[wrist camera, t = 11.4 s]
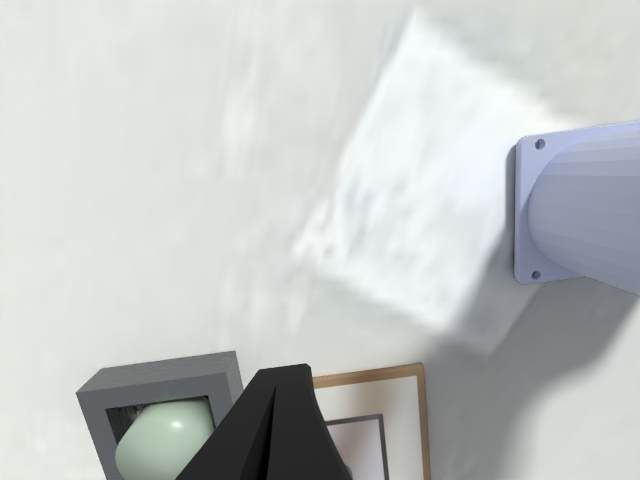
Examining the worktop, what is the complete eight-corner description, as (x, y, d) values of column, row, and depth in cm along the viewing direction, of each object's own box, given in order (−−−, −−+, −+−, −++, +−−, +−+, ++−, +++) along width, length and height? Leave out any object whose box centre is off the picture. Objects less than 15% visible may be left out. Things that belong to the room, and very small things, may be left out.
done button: (210, 383, 18) (194, 418, 15) (226, 446, 19) (212, 489, 16) (133, 393, 18) (104, 430, 15) (153, 456, 19) (128, 500, 16)
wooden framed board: (421, 363, 18) (424, 369, 18) (429, 491, 21) (433, 500, 20) (275, 382, 18) (274, 389, 18) (299, 508, 21) (298, 518, 20)
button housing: (235, 350, 18) (225, 372, 16) (258, 459, 20) (252, 491, 18) (101, 368, 18) (75, 392, 16) (136, 476, 20) (117, 509, 18)
